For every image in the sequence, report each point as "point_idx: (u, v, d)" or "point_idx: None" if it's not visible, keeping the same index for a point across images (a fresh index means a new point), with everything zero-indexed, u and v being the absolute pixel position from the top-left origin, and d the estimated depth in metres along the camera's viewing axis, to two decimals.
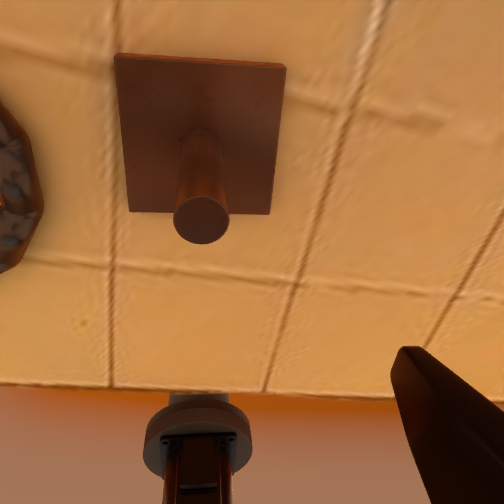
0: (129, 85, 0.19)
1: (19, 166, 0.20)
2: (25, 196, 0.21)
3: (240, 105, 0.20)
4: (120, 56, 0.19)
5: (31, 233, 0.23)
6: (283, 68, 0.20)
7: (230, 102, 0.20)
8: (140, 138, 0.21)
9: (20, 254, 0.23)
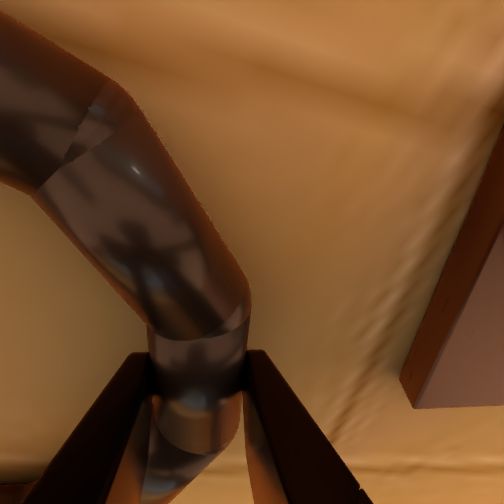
0: None
1: (232, 363, 0.08)
2: (225, 416, 0.09)
3: None
4: None
5: None
6: None
7: None
8: None
9: None
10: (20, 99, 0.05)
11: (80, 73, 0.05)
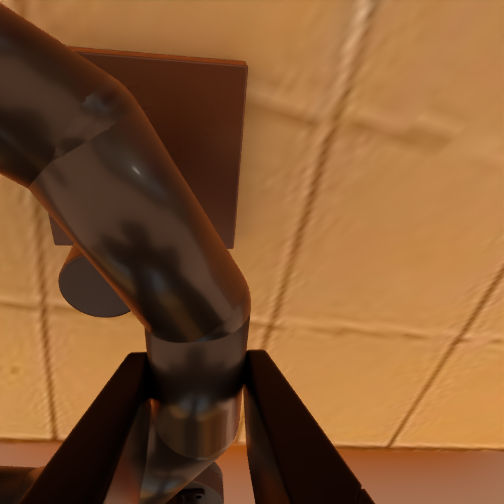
0: None
1: (226, 369, 0.08)
2: (220, 423, 0.08)
3: (188, 113, 0.16)
4: None
5: None
6: (244, 67, 0.15)
7: (176, 110, 0.15)
8: None
9: None
10: (14, 93, 0.05)
11: (79, 69, 0.05)
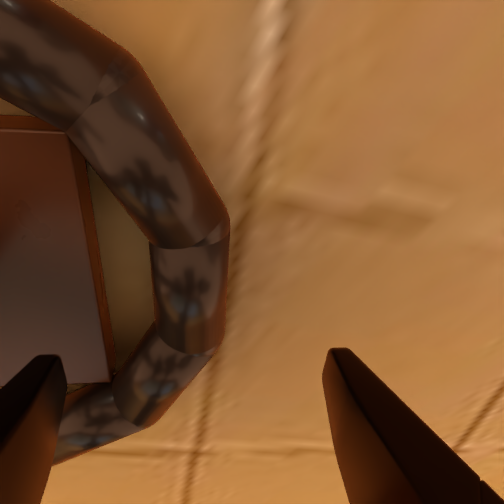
0: None
1: (215, 273, 0.10)
2: (212, 322, 0.11)
3: None
4: None
5: None
6: (60, 133, 0.09)
7: None
8: None
9: None
10: (63, 57, 0.07)
11: (102, 42, 0.08)
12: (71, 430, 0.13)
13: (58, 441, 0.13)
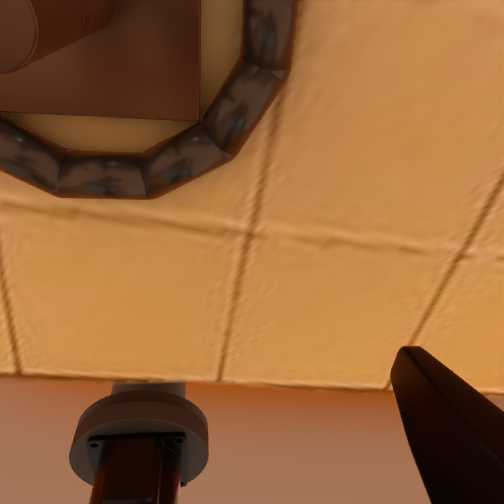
0: None
1: None
2: (286, 41, 0.15)
3: None
4: None
5: (267, 108, 0.16)
6: None
7: None
8: None
9: (245, 141, 0.17)
10: None
11: None
12: (169, 155, 0.17)
13: (159, 165, 0.17)
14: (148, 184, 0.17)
